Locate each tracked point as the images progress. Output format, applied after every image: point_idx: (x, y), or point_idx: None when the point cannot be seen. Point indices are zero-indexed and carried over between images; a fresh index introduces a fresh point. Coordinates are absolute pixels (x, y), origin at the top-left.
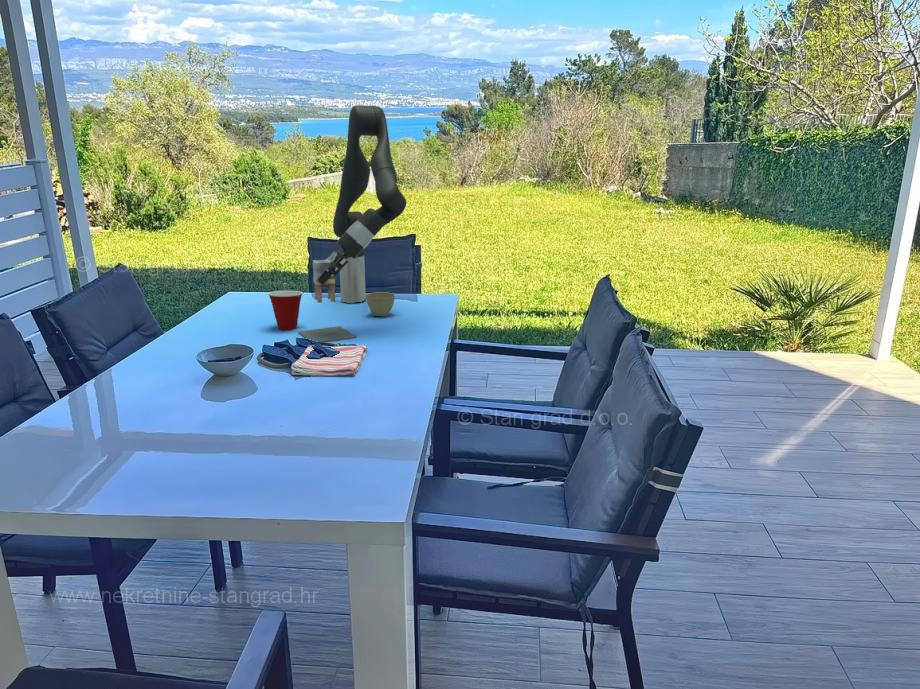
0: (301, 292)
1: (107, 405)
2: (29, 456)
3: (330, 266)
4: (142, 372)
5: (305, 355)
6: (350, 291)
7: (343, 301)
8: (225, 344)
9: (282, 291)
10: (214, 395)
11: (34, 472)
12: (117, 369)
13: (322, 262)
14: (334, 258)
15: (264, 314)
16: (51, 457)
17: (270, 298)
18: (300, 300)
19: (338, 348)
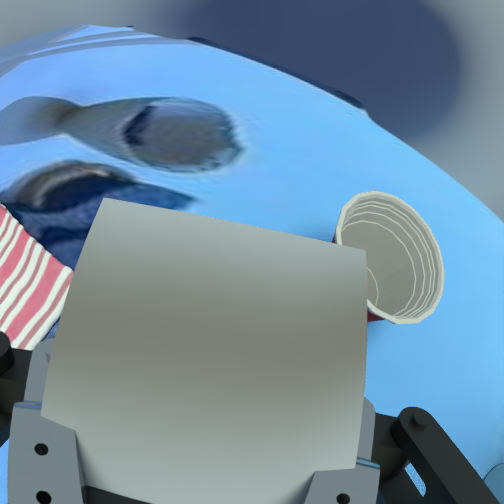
0: (401, 318)
1: (83, 46)
2: (39, 37)
3: (26, 390)
4: (161, 57)
5: (18, 233)
6: (501, 490)
7: (492, 470)
8: (245, 142)
9: (438, 261)
10: (18, 106)
11: (17, 44)
12: (194, 47)
13: (97, 308)
14: (11, 499)
15: (461, 281)
16: (26, 44)
17: (381, 210)
18: (376, 319)
19: (19, 330)
